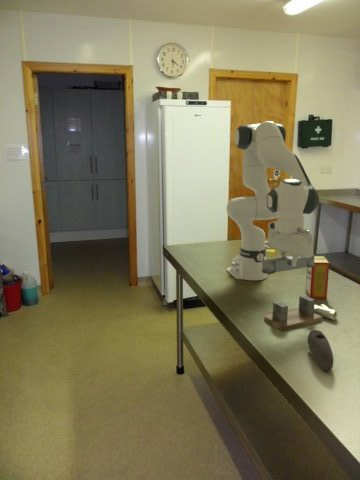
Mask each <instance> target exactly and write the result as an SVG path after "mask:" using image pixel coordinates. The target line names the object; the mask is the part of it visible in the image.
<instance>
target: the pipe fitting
mask: <svg viewBox="0 0 360 480" xmlns="http://www.w3.org/2000/svg"><path fill="white" fill-rule="evenodd" d="M314 313H316V314H318V315H320V316H322V318H326V319H330V320H332V321H335V320H336V319H337V316H338V311H337V310H336V309H333V308H330V307H328V306H327V305H326V304H325V303H322V304H319V305H318V304H314Z"/></svg>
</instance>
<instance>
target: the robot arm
mask: <svg viewBox="0 0 360 480" xmlns="http://www.w3.org/2000/svg"><path fill="white" fill-rule="evenodd" d="M286 135H287V134H286V128H285V126H283V124H280V123H275V122H274V121H271V120H267V121H263V122H261V123H252V124H242V125H239V126H238V127H237V128H236V129H235V133H234V143H235V146H236V147H237V148H238V149H240V150H243V156H242V177H241V178H242V184H243V186H244V187H246V188H248V189H250V190H251V191H253V192H254V196H239V197H235V198H230V200H229V201H228V203H227V205H226V213H227V216H228V217H229V218H230V219H231V220H232V221H233V222H235V223H236V225H237V226H238V228H239V230H240V235H241V247H240V248H238V250H239V253H238V255H237V256H235V257H233V258H232V260H231V266H229V267H227V268H226V272H228V273H229V274H230V275H231V276H232V277H234V279H236V280H243V281H244V280H246V281H262V280H265V279H268V275H269V274H265V273H262V260H265V259H267V257H266V256H267V250H266V249H267V248H266V233H265V231H264V229H262V228H261V227H259V226H256V225H255V224H254V221H262V220H263V221H264V220H267V221H268V220H273V219H277V220H275V221H271V222H269V223H268V225H267V226H268V232H267V244H268V247H270V248H272V249H275V250H278V251H279V255H280V258H283V257H288V256H287V253H288V254H290V255H291V256H292V257H293V259H292V261H290V266H293V267H294V266H296V263H297V260H298V258H299V257H302V258H309V257H312V255H313V254H314V239H313V235H312V233H311V232H310V230H308V229H304V225H305V224H304V223H305V215H310V214H312V213H313V212H314V211H315V210H316V209H317V208H318V207H319V204H320V196H319V193H318V191H317V190H316V189H315V187H314V186H313V184H312V182H311V181H310V178H309V176H308V174H307V173H306V171H305V168H304V166H303V164H302V163H301V161H300V159H299V157H298V156H297V155H296V154H295V153H294V152H292V151H291V150H290V149H289V148H288V147H287V146H286V143H285V142H286V138H287V136H286ZM268 168H269V169H274V170H278V171H282V172H285V173H286V174H287V175H289V176H290V177H291V178H285V179H283V180H280V183H279V185H278V186H277V187H275V188H272V189H270V187H269V184H268V173H267V172H268Z"/></svg>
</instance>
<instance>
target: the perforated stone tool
mask: <svg viewBox="0 0 360 480" xmlns="http://www.w3.org/2000/svg"><path fill="white" fill-rule="evenodd" d="M307 345H308V350H309V352H310V354H311V355H312V356H311V357H313V359H314V361H315V362H316V363H317V365H318V366H319V367H320V368H321V369H322V370H323V371H324V372H325V373H329V372H331V371H332V369H333V367H334V354H333V351H332V347H331V344H330V342H329V340H328V339H327V337H326V336H325V334H324V333H323V331H321V330H316V329H313V330H311V331H309V333H308V336H307Z"/></svg>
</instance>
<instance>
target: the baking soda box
mask: <svg viewBox="0 0 360 480" xmlns="http://www.w3.org/2000/svg"><path fill="white" fill-rule="evenodd" d="M329 272H330V262H329V261H328V260H327V258H326V257H325V256H323V255H315V259H314V267H306V281H305V282H306V283H305V292H306V294H307V296H308V297H310V298H312V299H314V300H327V298H328V287H329V286H328V283H329Z"/></svg>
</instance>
